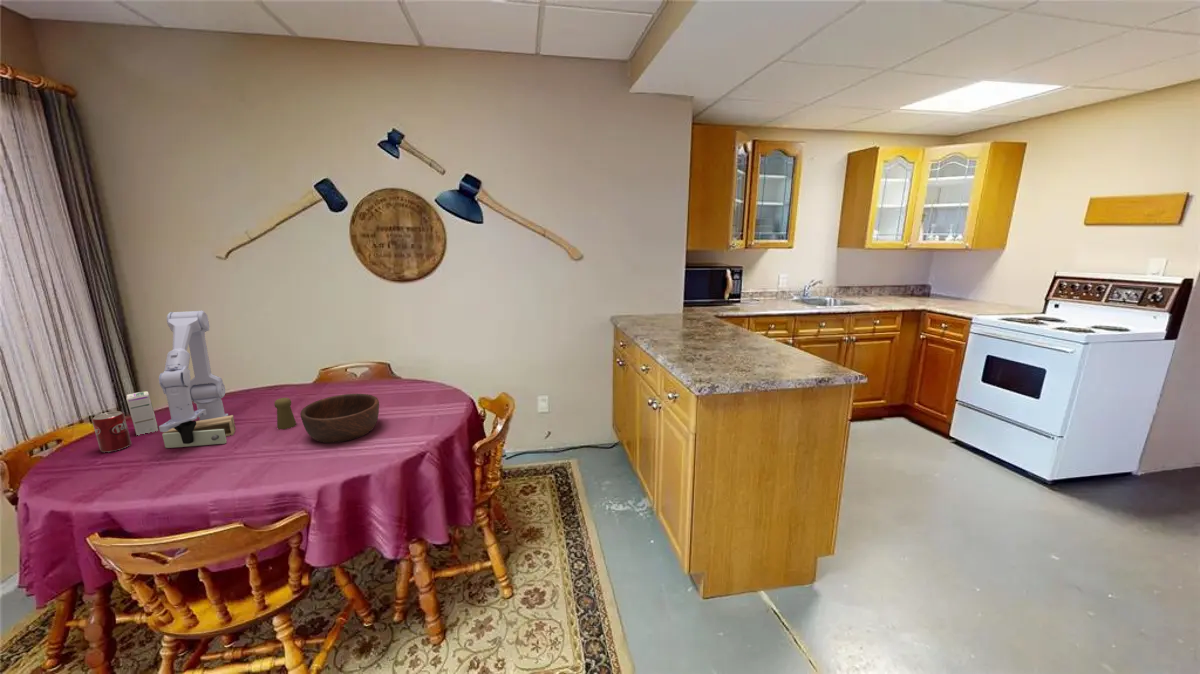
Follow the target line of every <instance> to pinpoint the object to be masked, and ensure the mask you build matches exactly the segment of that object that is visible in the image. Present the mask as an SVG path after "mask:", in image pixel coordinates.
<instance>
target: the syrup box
mask: <svg viewBox="0 0 1200 674" xmlns="http://www.w3.org/2000/svg"><path fill="white" fill-rule="evenodd" d="M126 402H127V405H128V409H129V410H128V411H129V413H130V417H131V420H132V424H133V428H134V431H135V434H136V436H137V435H138V436H141V435H140V434H144V435H146V434H145V433H148V434H151V433H150V432H152V433H156V432H159V426H158V422H157V420H156V415H155V411H154V407H153V404H152V401H151V397H150V394H149V391H148V390H145V391H138V392H133V393H130V394H129V393H128V394H126ZM155 431H156V432H155Z"/></svg>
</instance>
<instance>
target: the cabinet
mask: <svg viewBox="0 0 1200 674" xmlns="http://www.w3.org/2000/svg"><path fill="white" fill-rule="evenodd" d="M195 421H196V426H195V427H194V430H193V431H202V430H215V429H224V431H225V436H226V437H230V435H231V436H234V435H235V432H236V429H237V428H236V424H235V418H234V415H233V414H231V415H228V416H224V417H218V418H212V419H206V420H200V419H199V420H195ZM174 432H178V431H177V430H176V429H174V428H172V429H169V431H167V432H162V434H164V433H174Z"/></svg>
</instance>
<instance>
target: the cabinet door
mask: <svg viewBox="0 0 1200 674" xmlns="http://www.w3.org/2000/svg"><path fill="white" fill-rule="evenodd" d="M161 435H162V440H163V443H164V448H165V449H170V448H171V449H173V448H183V447H197V446H208V445H209V446H210V445H221V444H222V445H224V444H227V441H228V440H227V436H225V431H224V429H215V430H202V431H193V439H194V441H193V442H192V443H190V444H183V442H182V438H181V435H180V433H179V432H174V433H164V434H163V433H162V434H161Z"/></svg>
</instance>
